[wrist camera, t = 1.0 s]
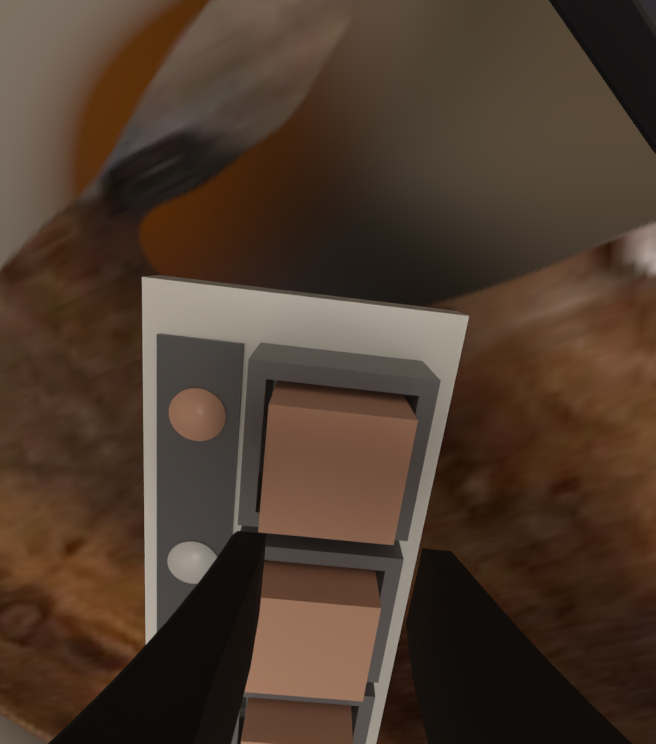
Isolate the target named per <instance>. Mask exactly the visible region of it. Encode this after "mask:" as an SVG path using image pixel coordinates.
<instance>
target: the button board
mask: <svg viewBox="0 0 656 744" xmlns="http://www.w3.org/2000/svg"><path fill="white" fill-rule="evenodd" d="M468 319H469V316H468V315H465V314H463V313H461V312H458V311H455V310H447V309H438V308H430V307H422V306H413V305H405V304H396V303H388V302H380V301H371V300H363V299H355V298H346V297H338V296H330V295H321V294H313V293H305V292H296V291H288V290H280V289H271V288H263V287H254V286H246V285H238V284H229V283H221V282H213V281H205V280H196V279H187V278H179V277H171V276H163V275H154V276H146V277H142V332H143V429H144V525H145V621H146V644H147V643H148V642H149V641H150V640H151V638H152V637H153V636H154V635H155V634H156V633H157V632H158V631H159V630H160V628H161V627H162V626H163V625H164V624H165V623H166V622H167V621H168V619H169V618H170V617H171V616H172V615H173V613H174V612H175V611H176V610H177V609H178V607H179V606H180V605H181V604H182V602H183V601H184V600H185V599H186V597H187V596H188V595H189V594H190V592H191V591H192V590H193V589H194V588H195V586H196V585H197V584H198V583H199V581H200V580H201V579H202V577H203V576H204V575H205V573H206V572H207V571H208V569H209V568H210V567H211V565H212V564H213V563H214V561H215V560H216V558H217V557H218V555H219V554H220V553H221V551H222V550H223V548H224V547H225V545H226V544H227V542H228V540H229V539H230V537H231V536H232V535H233V534H234V533H235V532H237V531H243V532H254V533H261V532H258V528H259V516H260V503H261V491H262V479H263V467H264V455H265V443H266V431H267V419H268V407H269V402H270V400H271V397H272V394H273V392H274V389H275V386H276V384H277V381H278V380H279V381H288V382H297V383H306V384H315V385H324V386H333V387H342V388H351V389H360V390H369V391H378V392H387V393H396V394H403V395H404V397H405V398H406V400H407V402H408V404H409V406H410V407H411V409H412V411H413V413H414V414H415V416H416V418H417V420H418V423H417V428H416V433H415V438H414V443H413V448H412V454H411V459H410V464H409V469H408V474H407V479H406V484H405V489H404V494H403V499H402V505H401V510H400V515H399V520H398V525H397V530H396V535H395V540H394V545H386V544H376V543H366V542H355V541H345V540H334V539H324V538H313V537H303V536H292V535H282V534H271V533H264V534H267V536H266V547H265V558H264V560H271V561H282V562H293V563H303V564H314V565H325V566H336V567H347V568H357V569H368V570H375V573H376V579H377V585H378V591H379V598H380V604H381V612H380V617H379V622H378V627H377V632H376V637H375V642H374V648H373V653H372V658H371V663H370V668H369V673H368V678H367V683H366V688H365V693H364V699H363V701H350V700H338V699H325V698H312V697H300V696H287V695H275V694H262V693H249V692H245V691H244V695H243V699H242V703H241V707H240V711H239V715H238V719H237V723H236V727H235V731H234V735H233V739H232V742H231V744H241V738H242V732H243V726H244V720H245V715H246V709H247V703H248V697H250V698H263V699H276V700H288V701H301V702H314V703H326V704H339V705H351V715H352V732H353V744H376V742H377V738H378V733H379V728H380V724H381V719H382V715H383V710H384V705H385V701H386V696H387V692H388V687H389V682H390V678H391V673H392V669H393V664H394V659H395V655H396V650H397V646H398V641H399V636H400V632H401V627H402V623H403V618H404V613H405V609H406V604H407V600H408V595H409V590H410V586H411V581H412V577H413V572H414V567H415V563H416V558H417V554H418V549H419V544H420V540H421V535H422V531H423V526H424V521H425V517H426V512H427V508H428V503H429V498H430V494H431V489H432V485H433V480H434V475H435V471H436V466H437V462H438V457H439V452H440V448H441V443H442V439H443V434H444V429H445V425H446V420H447V416H448V411H449V406H450V402H451V397H452V393H453V388H454V383H455V379H456V374H457V370H458V365H459V360H460V356H461V351H462V347H463V342H464V337H465V333H466V328H467V324H468Z"/></svg>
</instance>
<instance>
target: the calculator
mask: <svg viewBox="0 0 656 744" xmlns="http://www.w3.org/2000/svg"><path fill="white" fill-rule="evenodd" d="M549 1H550V3H551V4H552V6H553V7H554V9H555V10H556V12H557V13H558V15H559V16H560V17H561V19H562V20H563V22H564V23H565V25H566V26H567V28H568V29H569V30H570V32H571V33H572V35H573V36H574V38H575V39H576V41H577V42H578V43H579V45H580V46H581V48H582V49H583V51H584V52H585V54H586V55H587V56H588V58H589V59H590V61H591V62H592V64H593V65H594V67H595V68H596V69H597V71H598V72H599V74H600V75H601V77H602V78H603V80H604V81H605V82H606V84H607V85H608V87H609V88H610V90H611V91H612V93H613V94H614V95H615V97H616V98H617V100H618V101H619V103H620V104H621V106H622V107H623V108H624V110H625V111H626V113H627V114H628V116H629V117H630V119H631V120H632V121H633V123H634V124H635V126H636V127H637V129H638V130H639V132H640V133H641V135H642V136H643V137H644V139H645V140H646V142H647V143H648V145H649V146H650V148H651V149H652V150H653V152H654V153H655V154H656V0H549Z"/></svg>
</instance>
